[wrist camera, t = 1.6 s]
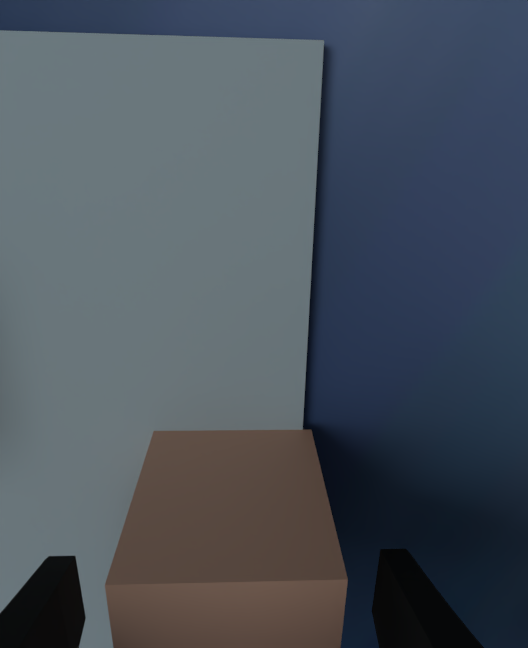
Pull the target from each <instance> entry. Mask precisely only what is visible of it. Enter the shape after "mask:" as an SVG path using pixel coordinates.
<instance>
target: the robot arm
mask: <svg viewBox="0 0 528 648" xmlns="http://www.w3.org/2000/svg"><path fill="white" fill-rule="evenodd" d="M372 613H373V618H374V623H375V628H376V634H377V638H378V643H379V648H484V647H483V646H482V645H481V644H480V643H479V641H478V640H477V639H476V638H475V637H474V635H473V634H472V633H471V632H470V631H469V629H468V628H467V627H466V626H465V624H464V623H463V622H462V621H461V620H460V618H459V617H458V616H457V615H456V613H455V612H454V611H453V610H452V608H451V607H450V606H449V605H448V603H447V602H446V601H445V599H444V598H443V597H442V596H441V594H440V593H439V592H438V590H437V589H436V588H435V586H434V585H433V584H432V582H431V581H430V580H429V578H428V577H427V576H426V574H425V573H424V572H423V570H422V569H421V568H420V566H419V565H418V564H417V562H416V561H415V559H414V558H413V557H412V555H411V554H410V553H409V552H408V551H407V550H406V549H381V550H380V557H379V564H378V571H377V578H376V585H375V592H374V600H373V607H372ZM85 619H86V616H85V610H84V604H83V598H82V592H81V586H80V580H79V574H78V568H77V562H76V556H48V557H47V558H46V559H45V560H44V561H43V563H42V564H41V565H40V566H39V567H38V569H37V570H36V571H35V572H34V573H33V575H32V576H31V577H30V578H29V579H28V581H27V582H26V583H25V584H24V586H23V587H22V588H21V589H20V590H19V592H18V593H17V594H16V595H15V596H14V597H13V599H12V600H11V601H10V602H9V603H8V605H7V606H6V607H5V608H4V609H3V610H2V612H1V613H0V648H79V645H80V640H81V636H82V632H83V628H84V624H85Z"/></svg>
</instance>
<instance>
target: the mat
mask: <svg viewBox="0 0 528 648" xmlns="http://www.w3.org/2000/svg"><path fill="white" fill-rule="evenodd" d="M323 51H324V40H297V39H263V38H230V37H197V36H164V35H131V34H97V33H64V32H31V31H0V613H1V612H2V610H3V609H4V608H5V607H6V606H7V605H8V603H9V602H10V601H11V600H12V599H13V597H14V596H15V595H16V594H17V593H18V592H19V590H20V589H21V588H22V587H23V586H24V584H25V583H26V582H27V581H28V579H29V578H30V577H31V576H32V575H33V573H34V572H35V571H36V570H37V569H38V567H39V566H40V565H41V564H42V563H43V561H44V560H45V559H46V558H47V557H48V556H76V562H77V568H78V574H79V580H80V586H81V592H82V598H83V604H84V610H85V616H86V619H85V624H84V628H83V632H82V636H81V640H80V645H79V648H113V641H112V634H111V627H110V620H109V612H108V605H107V598H106V591H105V583H106V580H107V576H108V573H109V570H110V567H111V564H112V561H113V558H114V554H115V551H116V548H117V545H118V542H119V539H120V535H121V532H122V529H123V526H124V523H125V520H126V517H127V513H128V510H129V507H130V504H131V501H132V498H133V494H134V491H135V488H136V485H137V482H138V479H139V476H140V472H141V469H142V466H143V463H144V460H145V457H146V453H147V450H148V447H149V444H150V441H151V438H152V435H153V431H201V430H303V415H304V397H305V379H306V360H307V342H308V324H309V306H310V288H311V269H312V251H313V233H314V215H315V197H316V178H317V160H318V142H319V124H320V106H321V88H322V69H323Z"/></svg>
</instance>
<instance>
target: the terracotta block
mask: <svg viewBox="0 0 528 648" xmlns="http://www.w3.org/2000/svg"><path fill="white" fill-rule="evenodd" d="M347 582H348V578H347V574H346V570H345V566H344V562H343V558H342V554H341V549H340V545H339V541H338V537H337V533H336V529H335V525H334V521H333V517H332V512H331V508H330V504H329V500H328V496H327V492H326V488H325V484H324V480H323V475H322V471H321V467H320V463H319V459H318V455H317V451H316V447H315V443H314V439H313V434H312V430H201V431H153V435H152V438H151V441H150V444H149V447H148V450H147V453H146V457H145V460H144V463H143V466H142V469H141V472H140V476H139V479H138V482H137V485H136V488H135V491H134V494H133V498H132V501H131V504H130V507H129V510H128V513H127V517H126V520H125V523H124V526H123V529H122V532H121V535H120V539H119V542H118V545H117V548H116V551H115V554H114V558H113V561H112V564H111V567H110V570H109V573H108V576H107V580H106V583H105V591H106V598H107V605H108V612H109V620H110V627H111V634H112V641H113V648H340V647H341V637H342V628H343V619H344V610H345V601H346V592H347Z"/></svg>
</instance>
